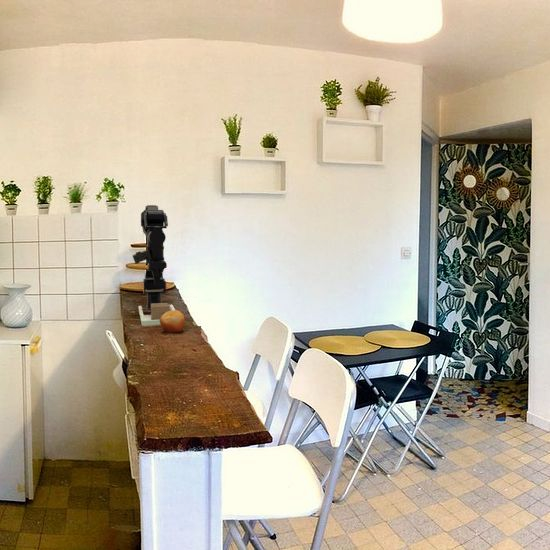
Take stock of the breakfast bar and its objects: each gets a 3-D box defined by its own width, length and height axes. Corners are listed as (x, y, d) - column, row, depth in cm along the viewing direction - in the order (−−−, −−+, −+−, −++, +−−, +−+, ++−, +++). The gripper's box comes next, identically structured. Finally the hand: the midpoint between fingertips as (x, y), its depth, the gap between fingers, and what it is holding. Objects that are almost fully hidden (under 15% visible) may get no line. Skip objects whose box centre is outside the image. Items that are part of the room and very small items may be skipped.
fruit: (189, 323, 173) (186, 306, 168) (184, 340, 167) (180, 322, 162) (166, 323, 174) (162, 305, 169) (160, 339, 168) (155, 321, 163)
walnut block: (151, 320, 182) (150, 303, 181) (168, 319, 183) (168, 302, 183) (152, 323, 176) (151, 306, 175) (169, 322, 178) (169, 305, 177)
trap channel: (138, 312, 201) (138, 306, 201) (172, 310, 205) (172, 304, 205) (142, 328, 173) (141, 321, 172) (180, 325, 177) (180, 319, 176)
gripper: (132, 242, 198) (133, 281, 200) (134, 245, 181) (135, 289, 183) (162, 241, 201) (162, 280, 204) (166, 245, 184) (167, 288, 186)
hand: (156, 284), depth 194 cm, fingers closed
